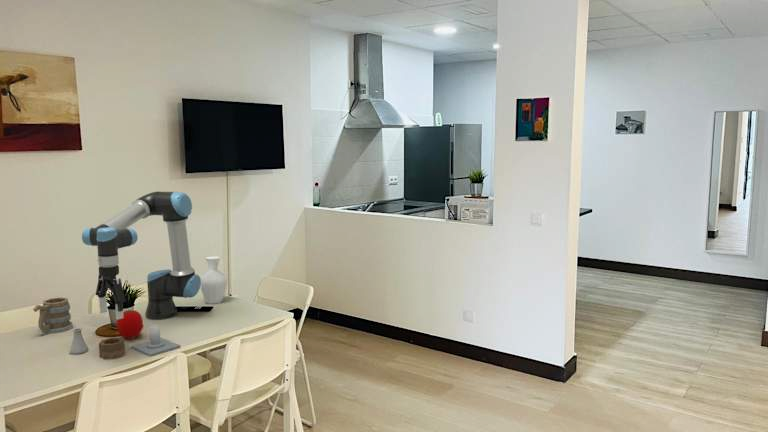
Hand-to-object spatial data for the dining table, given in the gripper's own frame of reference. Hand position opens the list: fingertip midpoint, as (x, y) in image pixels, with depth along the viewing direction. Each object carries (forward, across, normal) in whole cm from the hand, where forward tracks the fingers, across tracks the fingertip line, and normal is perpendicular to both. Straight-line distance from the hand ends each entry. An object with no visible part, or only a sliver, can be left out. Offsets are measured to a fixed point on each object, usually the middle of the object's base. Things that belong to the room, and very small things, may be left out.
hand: (111, 315), depth 242 cm
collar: (+17, 0, 0) cm, 17 cm away
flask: (+17, -15, -7) cm, 24 cm away
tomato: (+17, -15, +16) cm, 28 cm away
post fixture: (+17, +6, +16) cm, 24 cm away
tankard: (+17, -52, -3) cm, 55 cm away
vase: (+17, -35, +75) cm, 84 cm away
